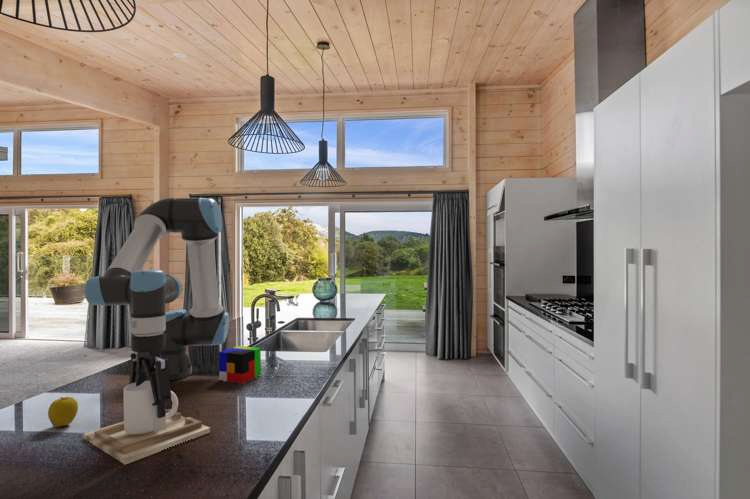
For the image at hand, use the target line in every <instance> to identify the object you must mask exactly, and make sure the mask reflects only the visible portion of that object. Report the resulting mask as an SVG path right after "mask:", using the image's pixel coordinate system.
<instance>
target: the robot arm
mask: <svg viewBox="0 0 750 499" xmlns="http://www.w3.org/2000/svg"><path fill="white" fill-rule="evenodd" d="M222 230H223V216H222V211H221V208H220V206H219V203H218V202H217V200H215V199H213V198H205V197H177V198H175V197H168V198H162V199H160V200H157V201H155V202H153V203H152V204H150V205H148V206H147V207H145V208H143V210H142V211H140V213H139V214H138V216H137V217H136V218H135V220H134V222H133V229H132V231H131V233H130V234H129V236H128V237H127V239H126V241H125V242H124V244H123V245H122V246H121V248H120V250H119V251H118V252H117V254H116V256H115V257H114V259H113V261H112V262H111V264H110V265H109V266H108V268H107V270H106V271H105V273H104V274H103V275H102V276H100V275H97V276H92V277H90V278H88V279H87V280H86V283H85V286H84V291H83V292H84V297H85V300H86V302H87V303H89V305H92V306H106V307H107V306H127V305H130V322H129V326H130V332H131V334H133V335H131V336H130V350H131V351H132V352H131V353H130V361H131V362H130V369H129V370H130V372H129V382H128V385H129V384H132V383H136V387H137V386H139V385H141V384H142V383H143V382H144V381H150V384H151V388H152V392H153V397H154V401H155V403H153V404H152V406H153V432H154V433H155V432H158V431H161V430H164V429H166V410H167V408H166V406H167V403H168V402H172V400H171V391H172V390H171V383H170V381H173V380H174V381H175V380H180V379H182V378H185V377H188V375H189V376H191V375H192V373H193V366H192V363H191V360H190V358H189V355H188V351H187V350H188V349H187V346H188V347H189V346H190V347H191V346H194V347H195V346H199V347H200V346H217V345H222V344H224V343H225V342H226V340H227V337H228V332H229V328H230V313H229V312H227V311H225V308H224V305H221V304H220V303H219V290H218V280H217V279H218V278H217V277H218V276H217V266H216V265H217V264H216V253H215V240H216V239H217V238H219V237H218V236H219V233H221V232H222ZM169 233H180V235H181V239H182V240H183V241H184V242H185V243H186V245H187V256H188V264H189V265H188V266H189V275H190V284H191V293H192V294H191V295H192V302H193V303H192V308H190V310H189V313H188V312H187V309H173V310H169V311H166V304H171V303H173V302H174V301H176V300H177V299H178V298H179V297H180V296H181V295H182V292H183V285H182V282H181V280H180V279H179V278H178V277H176V276H175V275H171V274H165V271H164V270H162V269H143V268H144V266H145V264H146V263H147V261H148V259H149V257H150V255H151V254H152V252H153V250H154V248H155V246H156V244H157V243H158V240H161V239H162V238H163V237H164V236H165V235H166V234H169ZM224 311H225V312H224Z"/></svg>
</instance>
